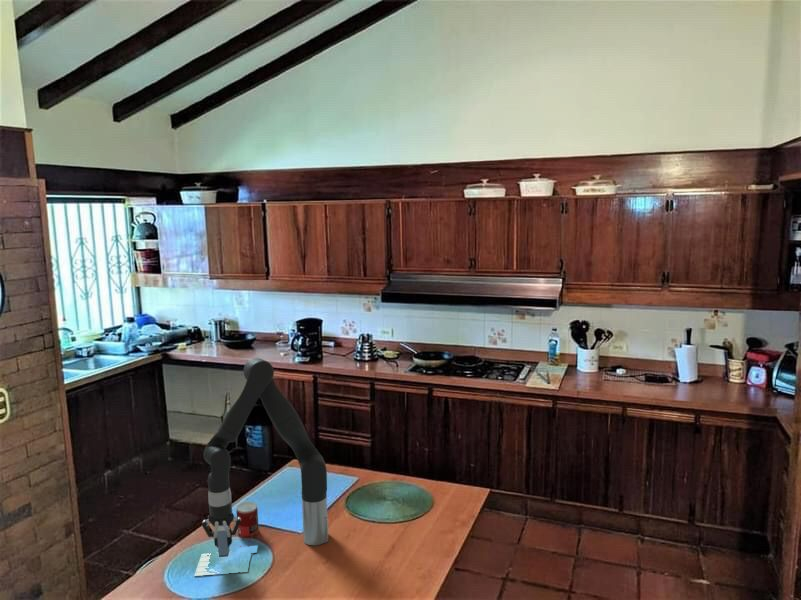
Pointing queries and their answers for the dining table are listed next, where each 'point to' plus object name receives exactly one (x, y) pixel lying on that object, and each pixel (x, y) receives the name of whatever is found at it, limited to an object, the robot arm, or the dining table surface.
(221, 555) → the grey rectangular block
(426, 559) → the dining table surface
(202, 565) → the notepad
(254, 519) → the canned food
